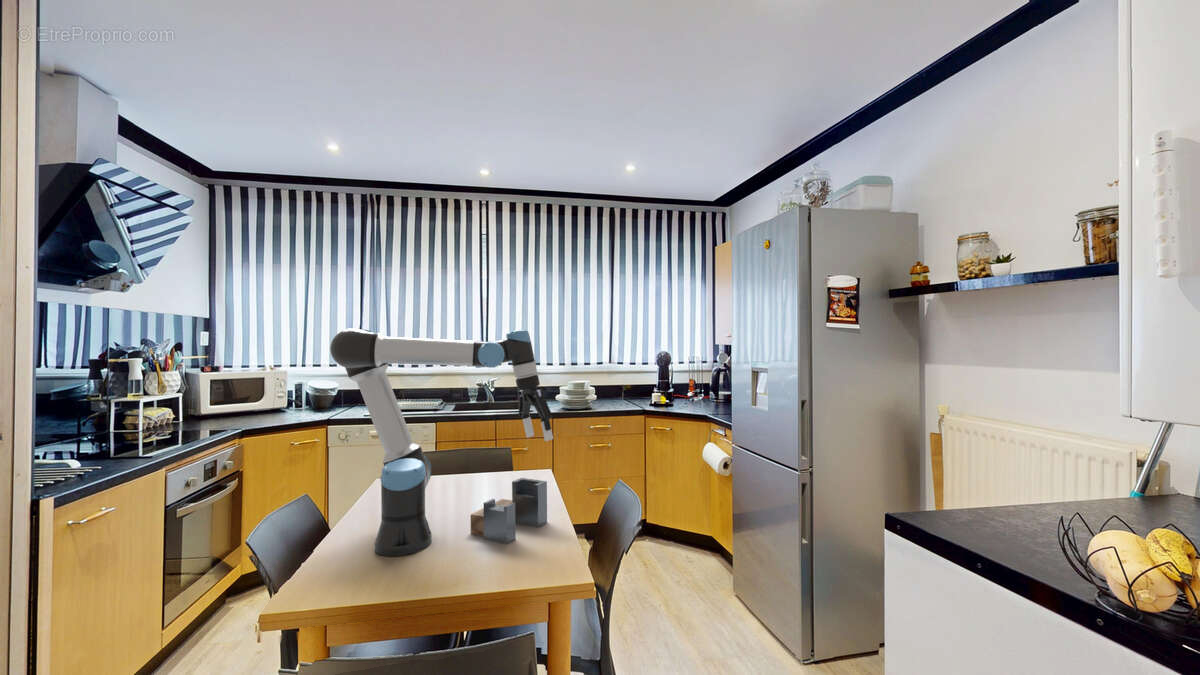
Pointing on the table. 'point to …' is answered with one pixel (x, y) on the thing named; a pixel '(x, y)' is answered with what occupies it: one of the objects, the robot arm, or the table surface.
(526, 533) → the table surface
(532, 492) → the cup bracket stand
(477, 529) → the walnut rail
